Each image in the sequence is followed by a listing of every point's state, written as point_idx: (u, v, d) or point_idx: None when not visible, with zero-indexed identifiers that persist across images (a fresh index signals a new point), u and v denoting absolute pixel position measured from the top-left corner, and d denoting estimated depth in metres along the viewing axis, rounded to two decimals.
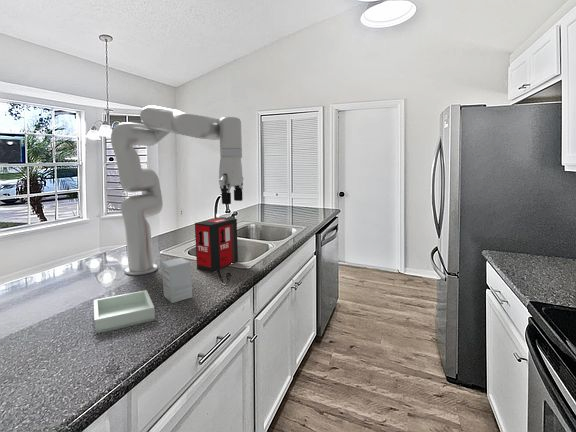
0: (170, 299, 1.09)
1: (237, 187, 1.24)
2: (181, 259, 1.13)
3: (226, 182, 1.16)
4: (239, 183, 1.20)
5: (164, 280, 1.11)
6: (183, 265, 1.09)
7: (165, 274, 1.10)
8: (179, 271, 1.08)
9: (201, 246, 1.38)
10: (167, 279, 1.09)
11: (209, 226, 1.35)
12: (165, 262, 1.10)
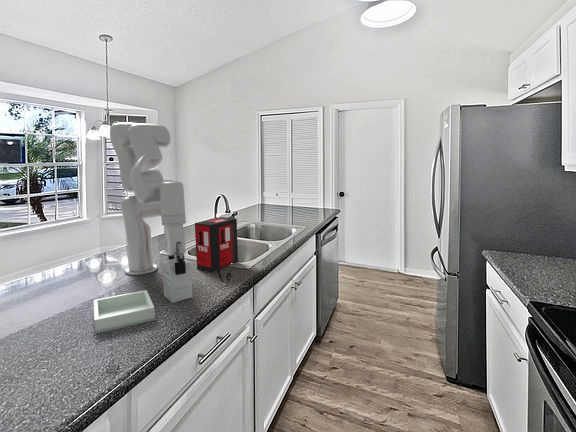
0: (170, 299, 1.09)
1: None
2: None
3: (176, 251, 1.07)
4: None
5: (164, 280, 1.11)
6: None
7: (165, 274, 1.09)
8: None
9: (201, 246, 1.38)
10: (167, 279, 1.09)
11: (209, 226, 1.34)
12: (165, 262, 1.10)
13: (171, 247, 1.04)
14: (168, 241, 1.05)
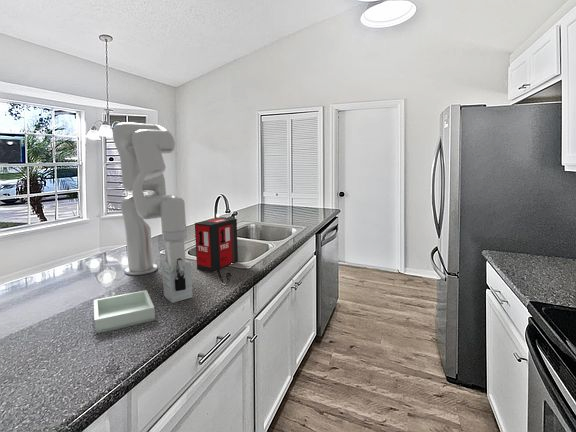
0: (170, 299, 1.09)
1: None
2: None
3: None
4: None
5: (164, 280, 1.12)
6: None
7: (165, 274, 1.10)
8: None
9: (201, 246, 1.38)
10: (167, 279, 1.09)
11: (209, 226, 1.34)
12: (165, 262, 1.10)
13: (172, 263, 1.05)
14: (169, 257, 1.06)
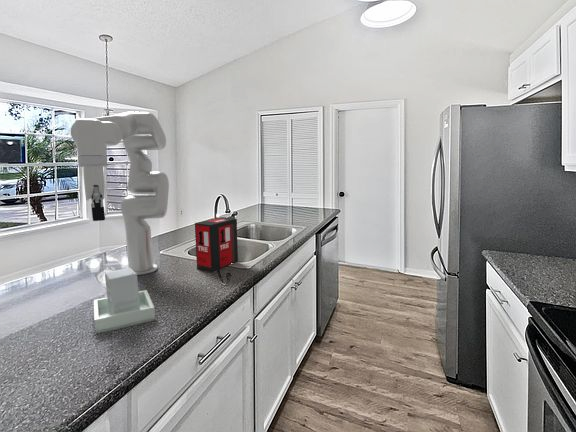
0: None
1: None
2: (128, 270, 1.00)
3: (94, 195, 0.99)
4: None
5: (107, 294, 0.98)
6: (127, 277, 0.96)
7: (107, 287, 0.96)
8: (122, 284, 0.95)
9: (201, 246, 1.38)
10: (109, 293, 0.96)
11: (209, 226, 1.34)
12: (108, 273, 0.97)
13: (87, 190, 0.96)
14: (84, 184, 0.97)
